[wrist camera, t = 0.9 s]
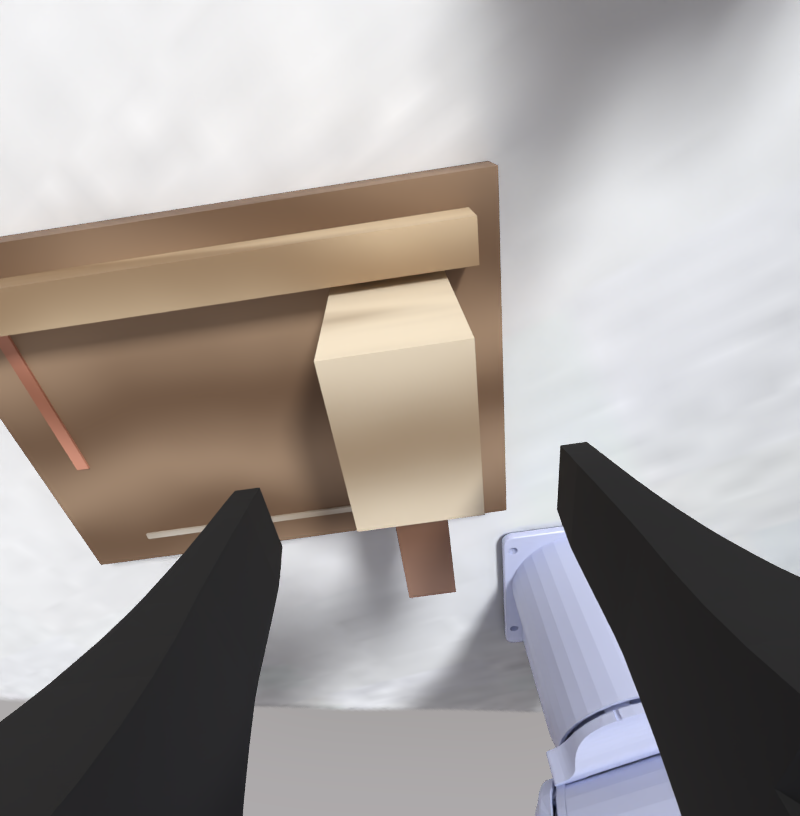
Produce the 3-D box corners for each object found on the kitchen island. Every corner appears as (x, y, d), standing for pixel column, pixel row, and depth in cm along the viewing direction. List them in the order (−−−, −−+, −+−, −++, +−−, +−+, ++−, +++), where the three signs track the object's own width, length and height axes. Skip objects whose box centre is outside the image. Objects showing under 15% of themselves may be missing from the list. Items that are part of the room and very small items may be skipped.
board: (499, 489, 25) (514, 533, 22) (114, 541, 25) (86, 590, 23) (488, 161, 17) (509, 170, 14) (-74, 248, 17) (-152, 273, 15)
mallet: (463, 500, 23) (490, 613, 18) (379, 511, 23) (382, 627, 18) (443, 268, 17) (474, 338, 12) (330, 285, 17) (313, 361, 12)
